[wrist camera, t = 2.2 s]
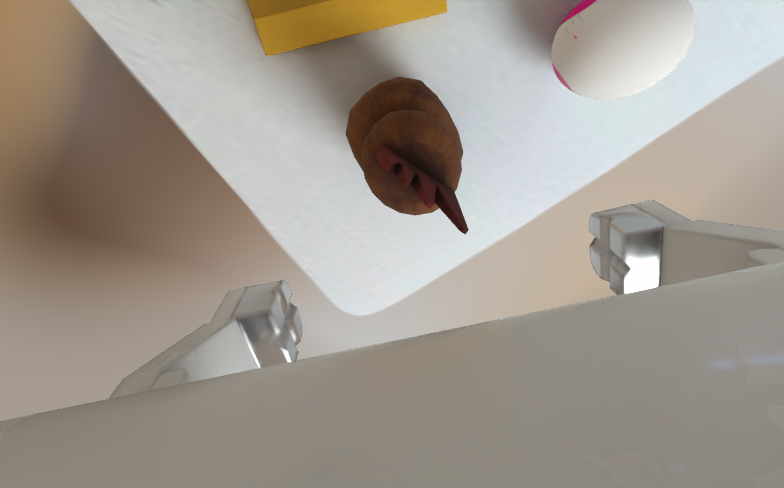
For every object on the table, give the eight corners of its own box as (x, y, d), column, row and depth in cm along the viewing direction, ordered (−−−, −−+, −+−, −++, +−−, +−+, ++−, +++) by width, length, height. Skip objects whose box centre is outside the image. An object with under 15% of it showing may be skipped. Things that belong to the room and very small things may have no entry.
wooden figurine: (463, 143, 30) (538, 233, 16) (392, 189, 31) (408, 308, 18) (409, 54, 27) (445, 72, 14) (335, 108, 28) (300, 173, 15)
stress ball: (623, -7, 29) (677, -98, 23) (672, 99, 28) (743, 35, 21) (514, 31, 30) (535, -47, 23) (556, 137, 28) (591, 87, 22)
